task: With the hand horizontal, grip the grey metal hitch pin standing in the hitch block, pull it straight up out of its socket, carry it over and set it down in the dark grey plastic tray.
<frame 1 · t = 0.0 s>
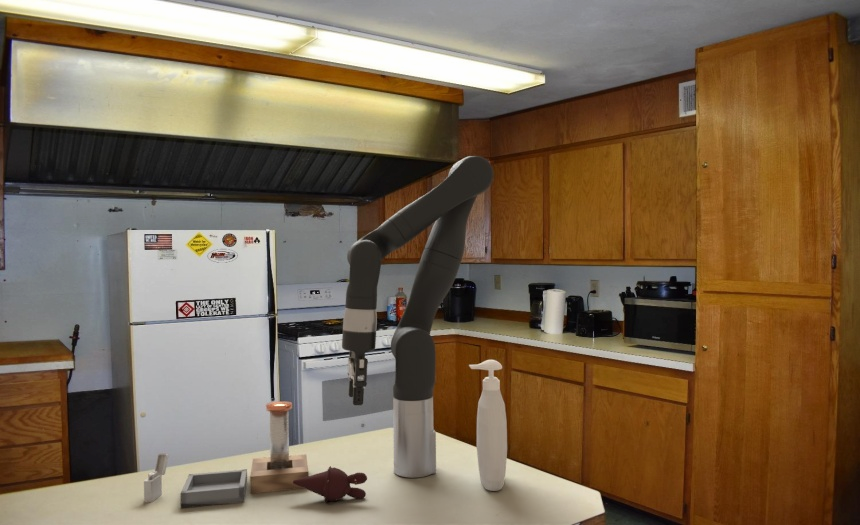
hand: (355, 400, 136), 17 cm above the counter, tool pointing down, fingers open, 8 cm apart
hitch block: (279, 480, 135), on the counter
tray: (215, 494, 127), on the counter
soap bottle: (488, 484, 131), on the counter
lighter: (156, 496, 127), on the counter
hitch pin: (279, 442, 135), in the hitch block
icecream: (330, 501, 123), on the counter
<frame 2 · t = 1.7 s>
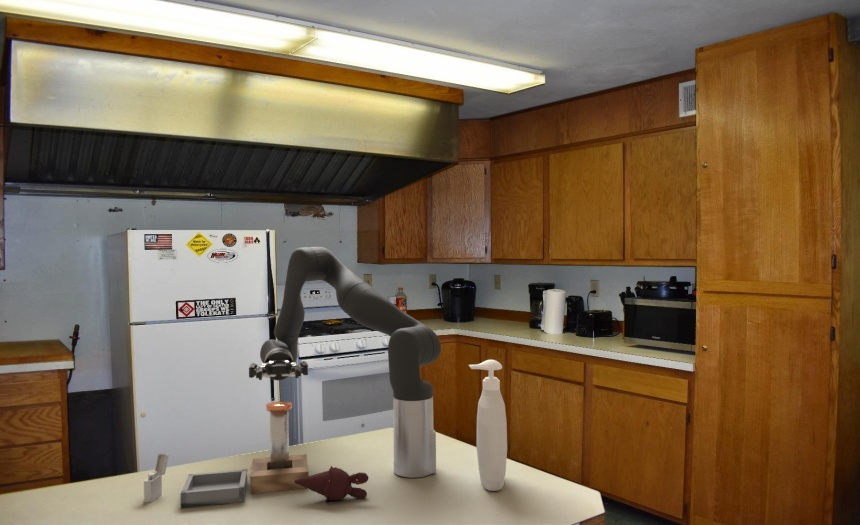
hand: (278, 374, 145), 22 cm above the counter, tool horizontal, fingers open, 8 cm apart
nothing on the counter moved.
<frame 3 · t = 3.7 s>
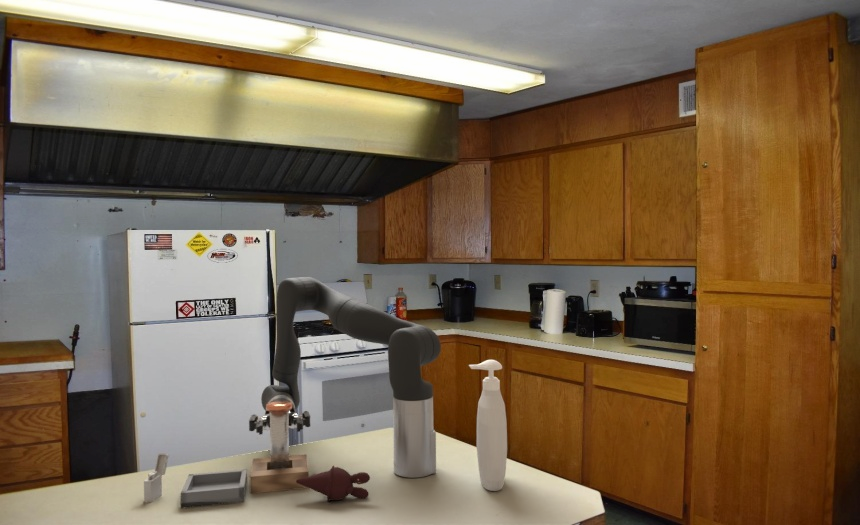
hand: (279, 428, 140), 10 cm above the counter, tool horizontal, fingers open, 8 cm apart
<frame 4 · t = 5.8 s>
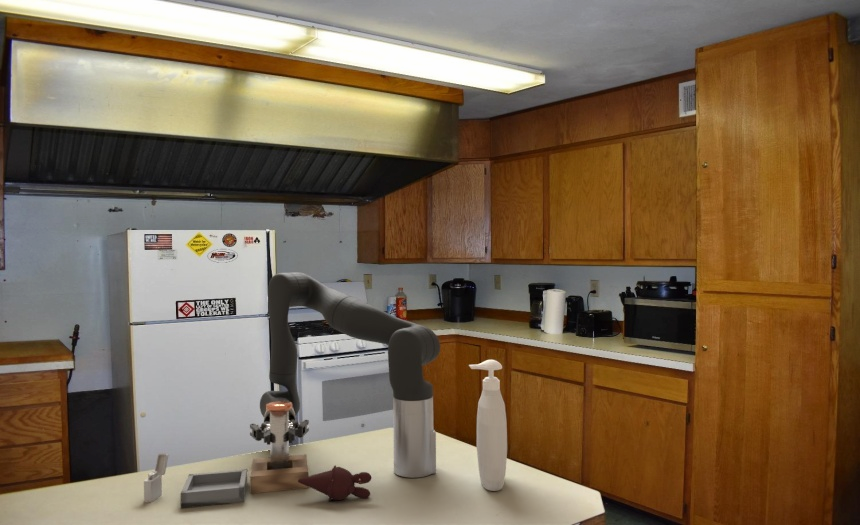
hand: (279, 439, 132), 10 cm above the counter, tool horizontal, fingers closed on hitch pin, 4 cm apart
hitch pin: (279, 442, 135), in the hitch block, touching gripper
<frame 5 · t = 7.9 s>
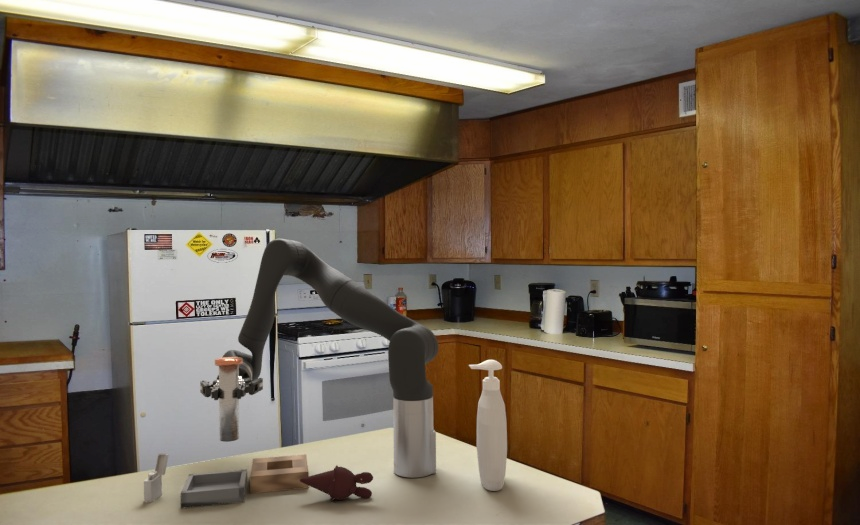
hand: (227, 394, 126), 21 cm above the counter, tool horizontal, fingers closed on hitch pin, 4 cm apart
hitch pin: (229, 399, 129), point 20 cm above the counter, touching gripper
when the fingers open (12 cm above the counter, at t = 10.2 s): hitch pin stays where it is, resting on tray.
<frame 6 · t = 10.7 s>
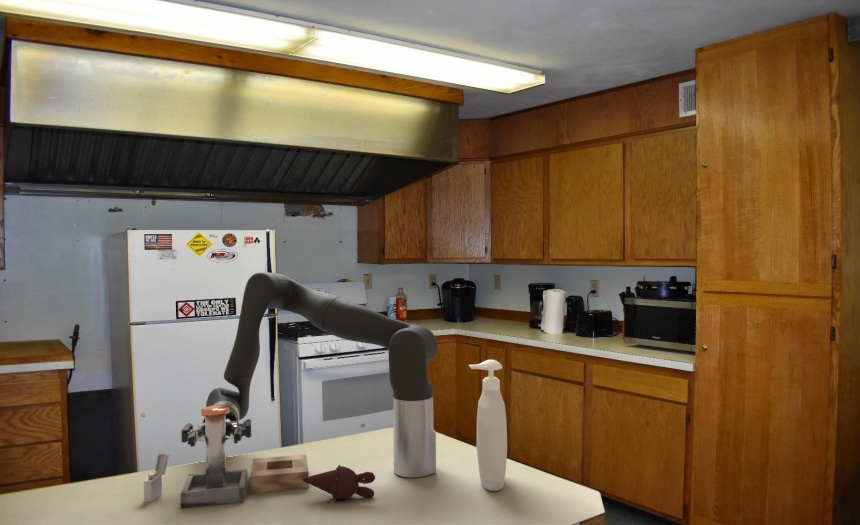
hand: (214, 440, 125), 12 cm above the counter, tool horizontal, fingers open, 8 cm apart
hitch pin: (215, 449, 127), in the tray, point 10 cm above the counter
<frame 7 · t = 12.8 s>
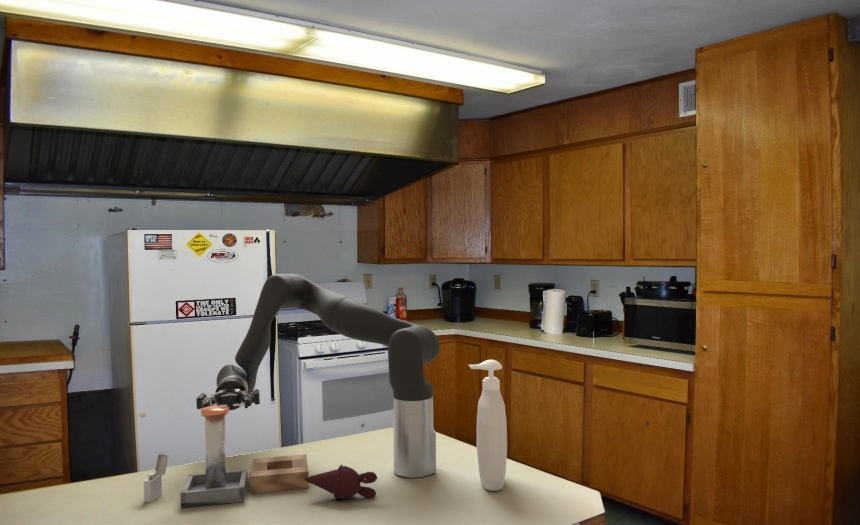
hand: (226, 405, 138), 16 cm above the counter, tool horizontal, fingers open, 8 cm apart
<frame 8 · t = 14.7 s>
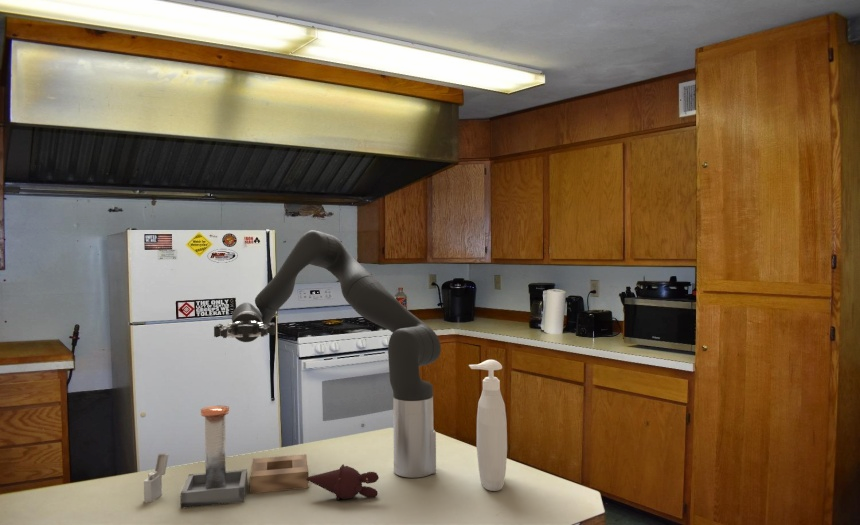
hand: (243, 332, 142), 32 cm above the counter, tool horizontal, fingers open, 8 cm apart
at the end: hitch pin inside the target area on the tray (0.1 cm from its centre), point 9.5 cm above the tray's base; hitch pin touching tray; the gripper is holding nothing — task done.
